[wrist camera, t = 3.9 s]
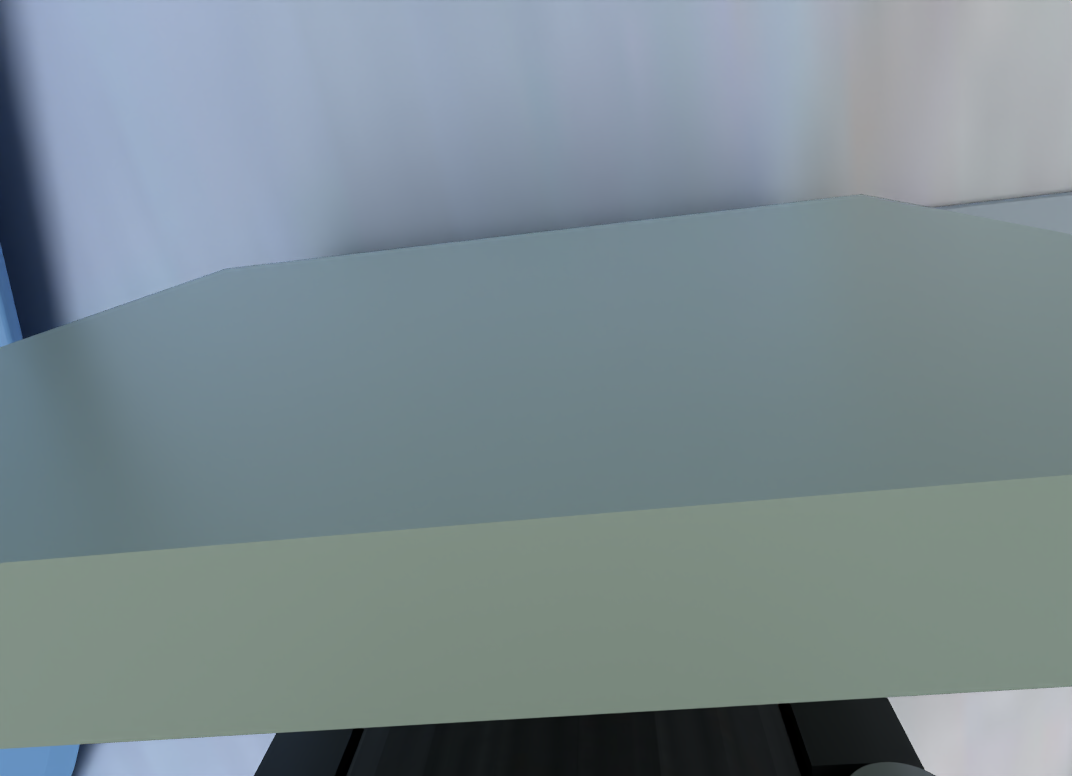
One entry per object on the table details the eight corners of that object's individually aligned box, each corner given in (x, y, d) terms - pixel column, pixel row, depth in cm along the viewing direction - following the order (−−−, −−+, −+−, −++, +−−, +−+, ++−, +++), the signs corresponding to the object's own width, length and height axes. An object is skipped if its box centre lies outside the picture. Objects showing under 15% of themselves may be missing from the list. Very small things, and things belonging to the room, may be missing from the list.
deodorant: (721, 564, 21) (1010, 1539, 6) (500, 605, 21) (316, 1547, 7) (676, 348, 19) (932, 1008, 5) (438, 402, 20) (39, 1099, 5)
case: (310, 239, 20) (-811, 630, 4) (827, 177, 19) (2219, 379, 3) (397, 673, 24) (-1, 1785, 8) (834, 644, 23) (1449, 1895, 7)
